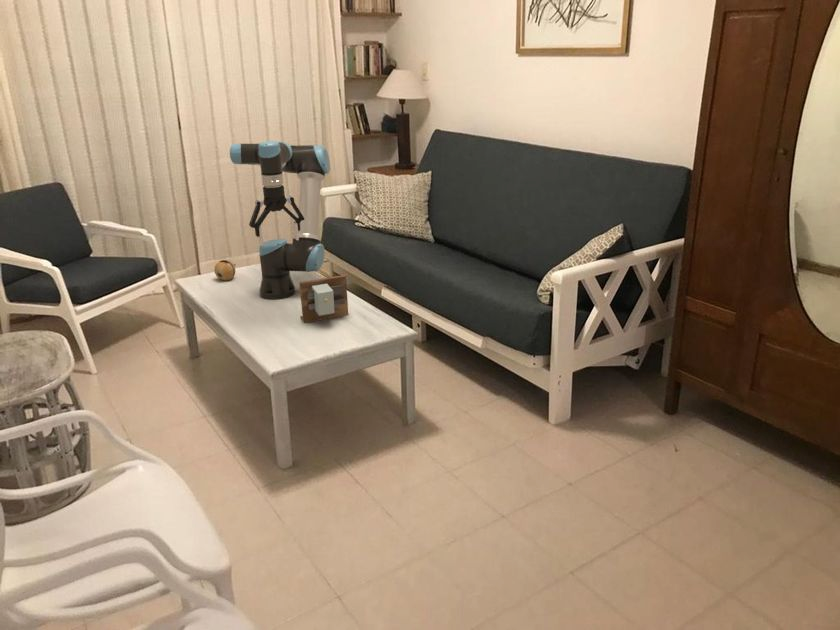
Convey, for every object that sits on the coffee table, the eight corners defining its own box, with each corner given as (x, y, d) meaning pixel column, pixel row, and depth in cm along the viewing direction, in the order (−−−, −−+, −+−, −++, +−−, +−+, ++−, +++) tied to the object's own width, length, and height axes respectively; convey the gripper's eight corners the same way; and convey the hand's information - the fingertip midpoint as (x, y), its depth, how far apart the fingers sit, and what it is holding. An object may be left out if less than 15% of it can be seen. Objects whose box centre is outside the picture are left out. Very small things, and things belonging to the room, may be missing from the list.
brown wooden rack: (300, 318, 268) (296, 279, 262) (344, 310, 275) (341, 272, 269) (306, 325, 261) (302, 285, 255) (351, 317, 268) (348, 278, 262)
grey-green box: (313, 307, 263) (311, 286, 259) (328, 305, 265) (326, 283, 262) (319, 316, 256) (318, 294, 252) (335, 313, 258) (334, 291, 254)
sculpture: (206, 267, 306) (224, 250, 318) (209, 283, 312) (227, 266, 323) (224, 271, 304) (242, 254, 315) (227, 288, 310) (244, 271, 321)
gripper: (241, 191, 240) (248, 249, 248) (309, 183, 250) (314, 239, 258) (236, 187, 247) (243, 244, 255) (303, 179, 257) (308, 234, 265)
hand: (279, 242), depth 257 cm, fingers open, 13 cm apart
